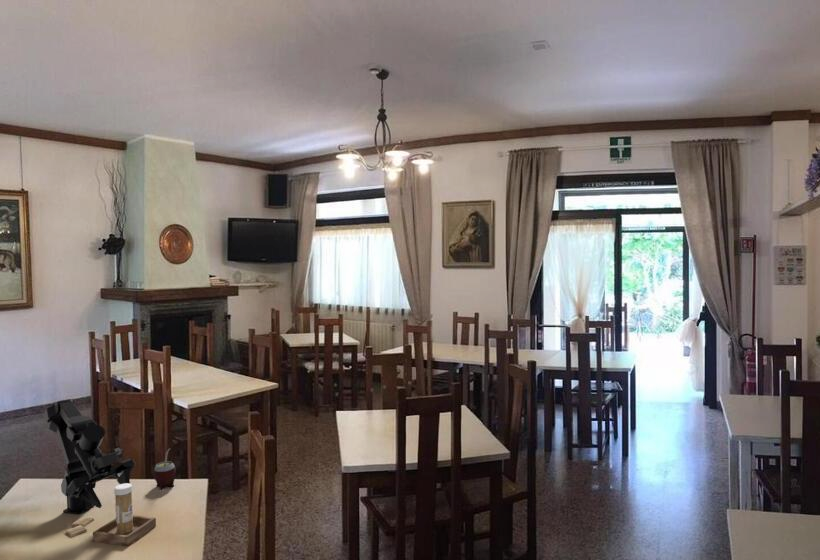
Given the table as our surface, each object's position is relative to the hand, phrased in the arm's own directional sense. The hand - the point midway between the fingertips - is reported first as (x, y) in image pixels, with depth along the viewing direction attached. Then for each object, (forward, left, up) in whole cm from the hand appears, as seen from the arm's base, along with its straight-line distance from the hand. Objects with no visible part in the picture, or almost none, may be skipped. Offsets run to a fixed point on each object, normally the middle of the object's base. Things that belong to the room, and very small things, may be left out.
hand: (115, 500), depth 165 cm
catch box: (+4, -1, -9) cm, 10 cm away
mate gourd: (-6, +30, -9) cm, 31 cm away
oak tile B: (-11, -4, -9) cm, 15 cm away
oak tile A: (-13, +1, -9) cm, 16 cm away
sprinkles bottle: (+4, -1, -8) cm, 9 cm away
